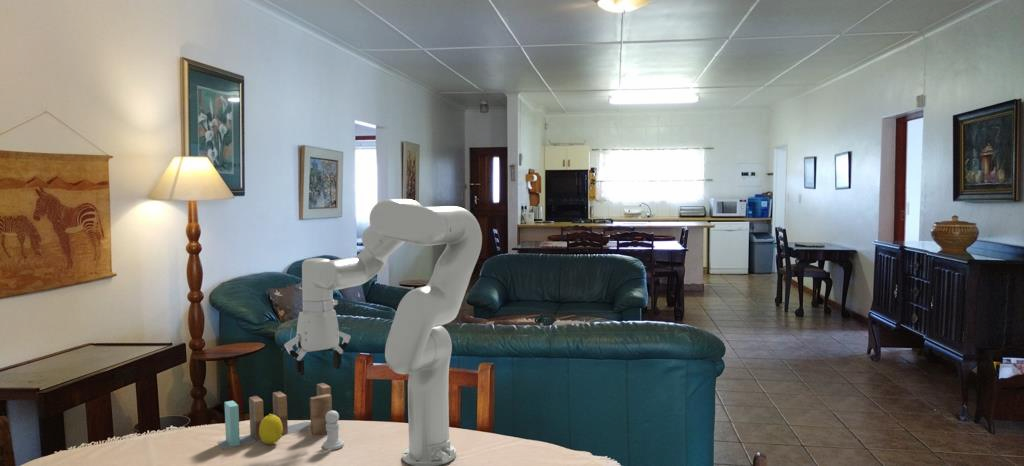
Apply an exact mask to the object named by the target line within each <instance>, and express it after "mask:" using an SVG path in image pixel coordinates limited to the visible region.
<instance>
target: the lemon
mask: <svg viewBox="0 0 1024 466" xmlns="http://www.w3.org/2000/svg"><path fill="white" fill-rule="evenodd" d="M282 432H283V426H282V422H281V420H280V418H279V417H277V416H276V415H273V413H269V414H268V415H265V416H264V418H263V419H262V421H261V423H260V427H259V435H260V438H261V441H262V442H263V443H265V444H268V445H269V446H273V445H274V444H275V443H276V442H278V441H279V440H280V439H281V437H282V436H283V435H282ZM281 435H282V436H281Z"/></svg>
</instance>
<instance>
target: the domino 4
mask: <svg viewBox="0 0 1024 466" xmlns="http://www.w3.org/2000/svg"><path fill="white" fill-rule="evenodd" d="M332 399H333V398H332V394H331V395H330V394H325V395H320V396H317V395H316V396H312V397H309V407H310V421H311V429H310V435H311V436H313V437H316V436H317V437H318V436H321V435H327V430H326V424H327V422H326V419H325V416H326V414H327V412H329V411H332V410H333V404H332V403H333V402H332V401H333V400H332Z"/></svg>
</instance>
